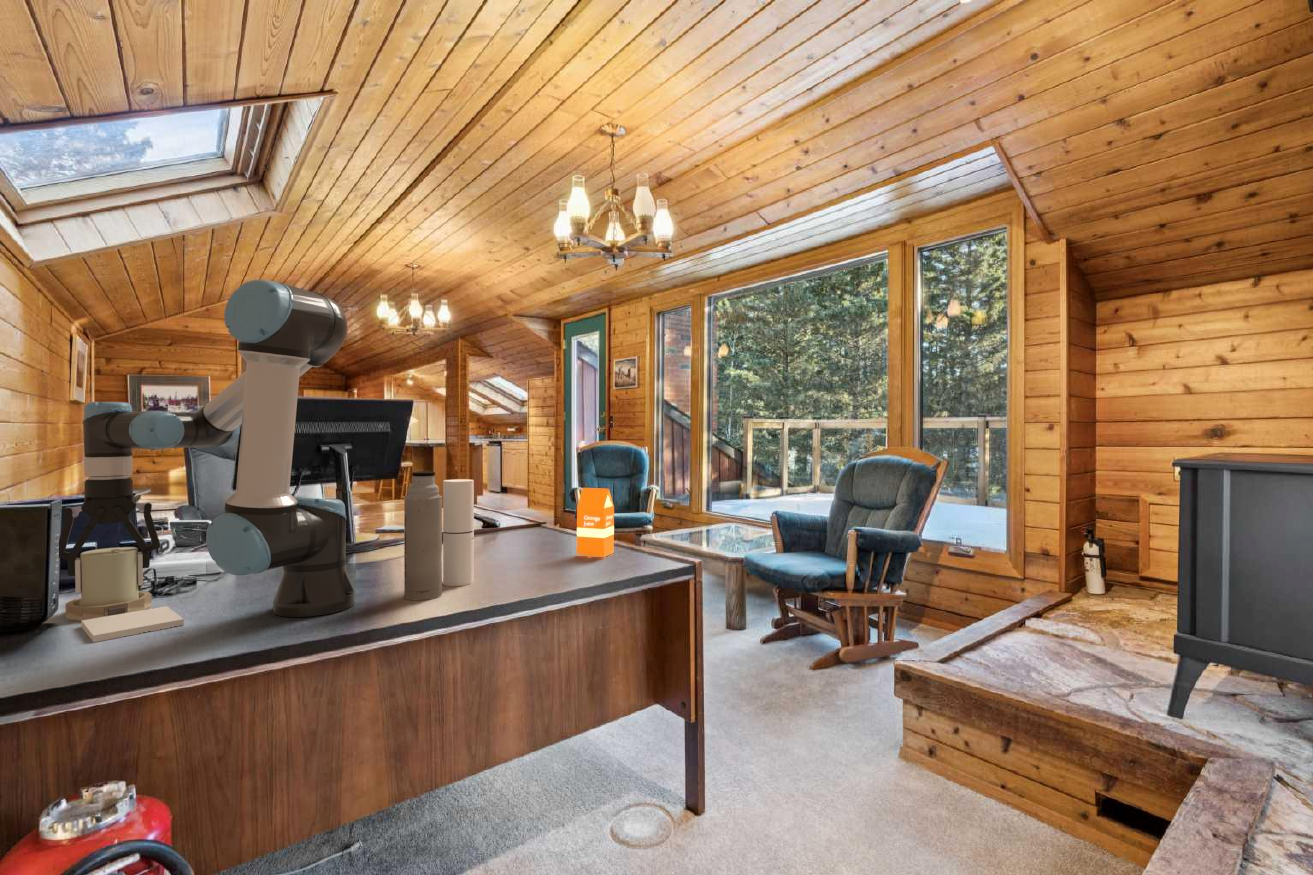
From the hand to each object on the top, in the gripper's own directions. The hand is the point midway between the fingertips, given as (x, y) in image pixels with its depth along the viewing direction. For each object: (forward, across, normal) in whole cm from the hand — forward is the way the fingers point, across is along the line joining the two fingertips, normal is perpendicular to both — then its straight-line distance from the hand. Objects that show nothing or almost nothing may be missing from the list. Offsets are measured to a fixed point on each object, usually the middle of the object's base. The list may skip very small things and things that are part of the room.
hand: (110, 587), depth 131 cm
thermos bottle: (+5, -55, +26) cm, 61 cm away
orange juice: (+6, -111, +11) cm, 111 cm away
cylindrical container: (+5, -66, +19) cm, 68 cm away
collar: (+5, 0, 0) cm, 5 cm away
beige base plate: (+5, -4, +15) cm, 17 cm away
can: (+4, 0, 0) cm, 4 cm away
